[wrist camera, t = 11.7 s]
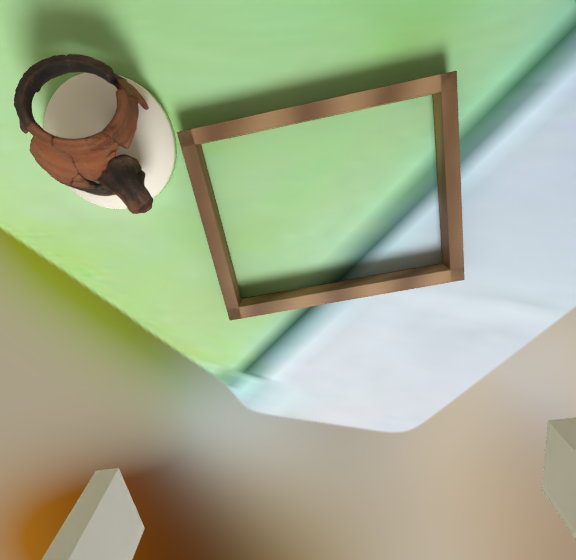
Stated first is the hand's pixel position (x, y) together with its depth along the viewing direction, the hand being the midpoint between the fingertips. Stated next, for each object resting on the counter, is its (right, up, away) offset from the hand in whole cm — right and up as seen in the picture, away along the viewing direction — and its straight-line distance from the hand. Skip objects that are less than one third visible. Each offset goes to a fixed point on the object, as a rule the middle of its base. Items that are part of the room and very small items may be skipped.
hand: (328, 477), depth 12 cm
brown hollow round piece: (-16, +18, +21) cm, 31 cm away
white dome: (-16, +18, +21) cm, 32 cm away
